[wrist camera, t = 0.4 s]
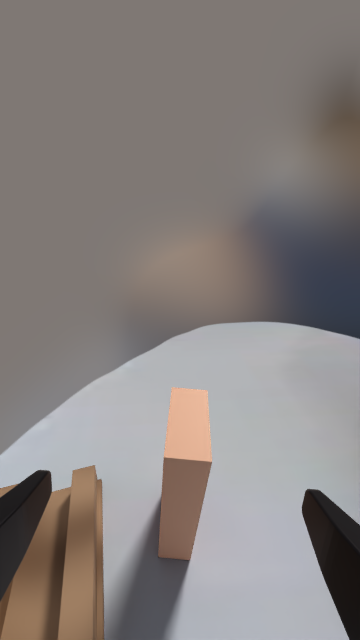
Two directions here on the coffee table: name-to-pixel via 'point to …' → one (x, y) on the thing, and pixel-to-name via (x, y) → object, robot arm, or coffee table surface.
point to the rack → (60, 569)
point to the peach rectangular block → (184, 472)
